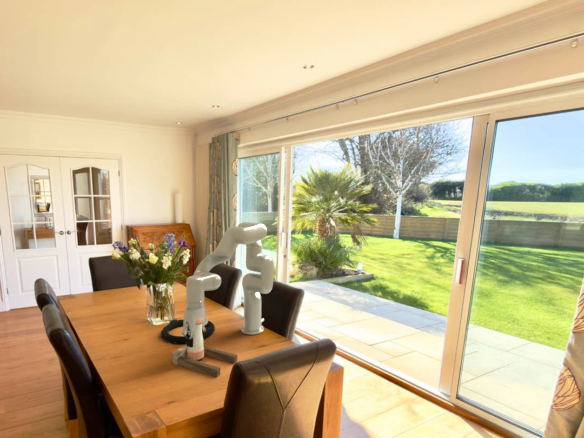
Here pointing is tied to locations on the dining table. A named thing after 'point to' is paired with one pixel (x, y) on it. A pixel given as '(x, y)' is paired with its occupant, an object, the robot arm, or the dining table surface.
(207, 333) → the cable lock
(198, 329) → the pepper shaker
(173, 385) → the dining table surface
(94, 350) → the dining table surface
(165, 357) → the dining table surface
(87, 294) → the dining table surface
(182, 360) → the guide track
